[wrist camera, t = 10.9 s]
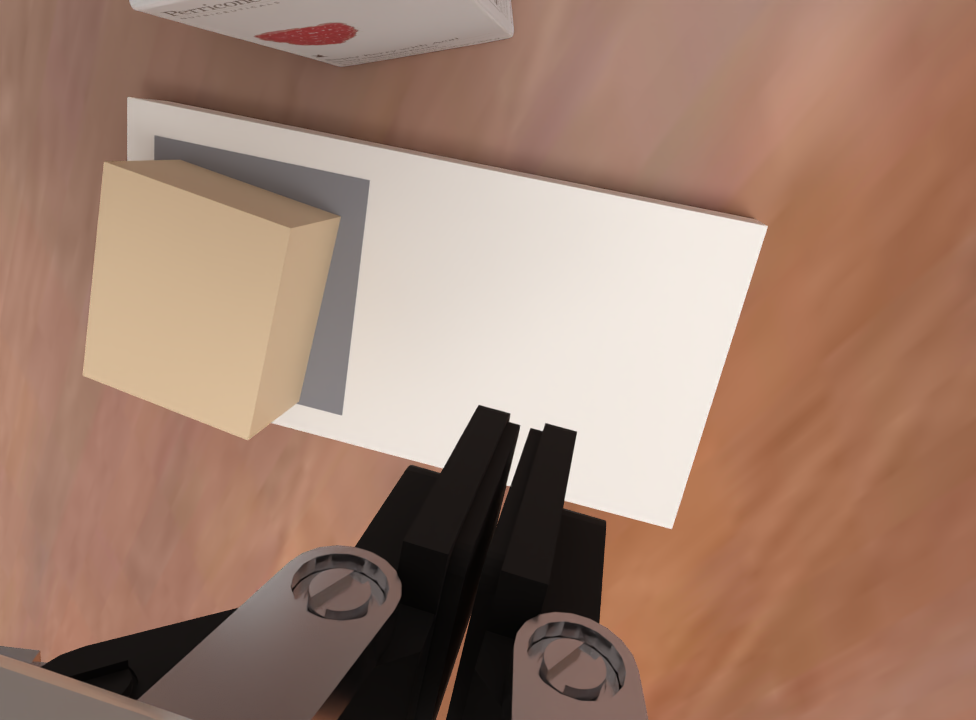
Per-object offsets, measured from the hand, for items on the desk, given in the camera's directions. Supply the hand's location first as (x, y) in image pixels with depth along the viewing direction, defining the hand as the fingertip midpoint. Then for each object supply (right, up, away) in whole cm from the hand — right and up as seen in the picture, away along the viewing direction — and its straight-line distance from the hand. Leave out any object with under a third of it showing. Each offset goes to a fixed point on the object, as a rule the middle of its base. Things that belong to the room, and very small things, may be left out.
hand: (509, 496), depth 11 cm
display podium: (-4, +5, +24) cm, 25 cm away
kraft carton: (-13, +6, +23) cm, 27 cm away
